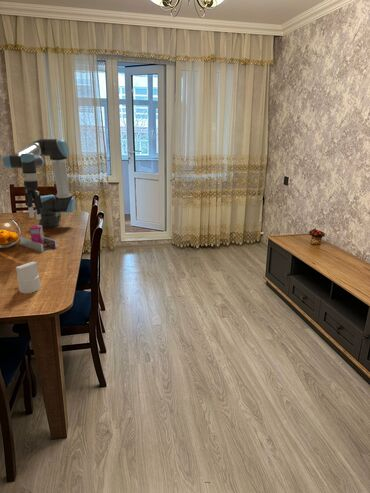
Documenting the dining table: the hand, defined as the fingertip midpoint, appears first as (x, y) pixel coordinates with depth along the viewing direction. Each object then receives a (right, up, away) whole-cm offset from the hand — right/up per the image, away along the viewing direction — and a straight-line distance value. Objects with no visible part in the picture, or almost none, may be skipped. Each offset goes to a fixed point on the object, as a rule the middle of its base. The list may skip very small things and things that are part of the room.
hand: (35, 218), depth 208 cm
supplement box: (0, -16, +5) cm, 17 cm away
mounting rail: (0, -18, +6) cm, 19 cm away
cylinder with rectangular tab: (+19, -37, -50) cm, 65 cm away
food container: (-16, +6, +78) cm, 80 cm away
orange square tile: (0, -17, +5) cm, 18 cm away
